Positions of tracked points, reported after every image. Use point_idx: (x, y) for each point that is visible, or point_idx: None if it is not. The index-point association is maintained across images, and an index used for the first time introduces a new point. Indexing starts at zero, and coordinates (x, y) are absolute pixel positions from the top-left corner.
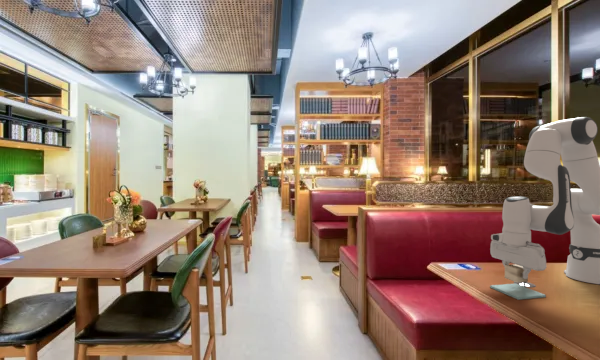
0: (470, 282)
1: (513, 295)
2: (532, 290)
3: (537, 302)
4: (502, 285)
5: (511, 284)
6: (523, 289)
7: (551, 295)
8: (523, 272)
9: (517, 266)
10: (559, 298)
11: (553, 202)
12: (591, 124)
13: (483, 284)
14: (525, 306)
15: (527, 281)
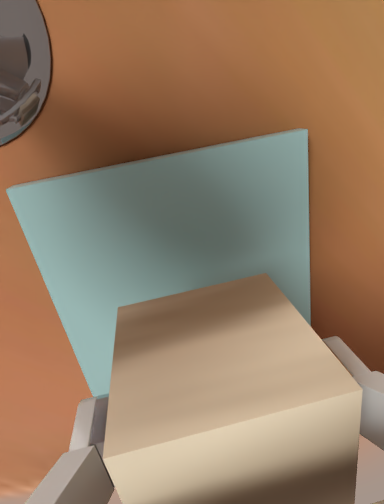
0: (5, 463)
1: None
2: (203, 166)
3: (358, 265)
4: (88, 333)
5: (48, 249)
6: (176, 228)
7: (270, 28)
8: (375, 439)
9: (246, 484)
10: (340, 16)
11: None
12: None
13: (36, 409)
14: (380, 358)
15: (268, 278)
